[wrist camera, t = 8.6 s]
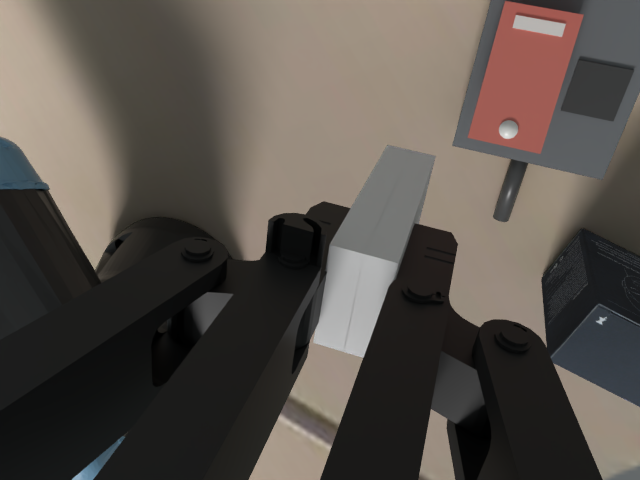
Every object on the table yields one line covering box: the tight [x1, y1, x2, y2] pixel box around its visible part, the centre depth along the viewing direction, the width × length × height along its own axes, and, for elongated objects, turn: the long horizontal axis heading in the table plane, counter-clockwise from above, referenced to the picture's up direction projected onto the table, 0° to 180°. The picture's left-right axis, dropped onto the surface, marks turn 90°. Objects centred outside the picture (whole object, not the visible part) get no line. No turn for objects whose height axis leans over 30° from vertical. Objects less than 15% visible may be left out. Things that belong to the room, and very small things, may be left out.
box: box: [542, 229, 640, 407], centre depth 41 cm, size 8×6×11 cm
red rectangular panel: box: [468, 1, 584, 154], centre depth 34 cm, size 4×8×1 cm, turn 172°
